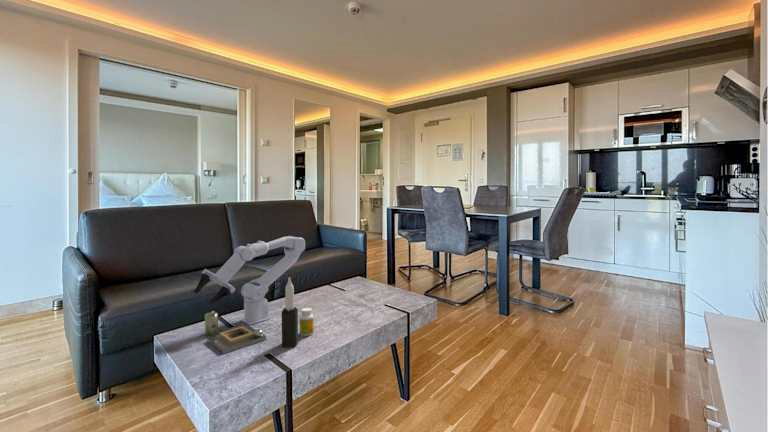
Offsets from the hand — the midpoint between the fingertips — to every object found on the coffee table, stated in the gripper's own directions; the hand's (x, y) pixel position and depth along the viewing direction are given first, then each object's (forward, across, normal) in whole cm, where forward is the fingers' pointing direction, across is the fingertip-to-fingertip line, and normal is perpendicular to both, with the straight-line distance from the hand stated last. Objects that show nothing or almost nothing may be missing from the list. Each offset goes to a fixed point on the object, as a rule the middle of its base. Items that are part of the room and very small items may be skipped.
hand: (203, 298), depth 132 cm
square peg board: (+6, +20, +1) cm, 21 cm away
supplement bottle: (-10, +41, +3) cm, 42 cm away
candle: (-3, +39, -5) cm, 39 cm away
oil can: (+8, +9, +9) cm, 15 cm away
